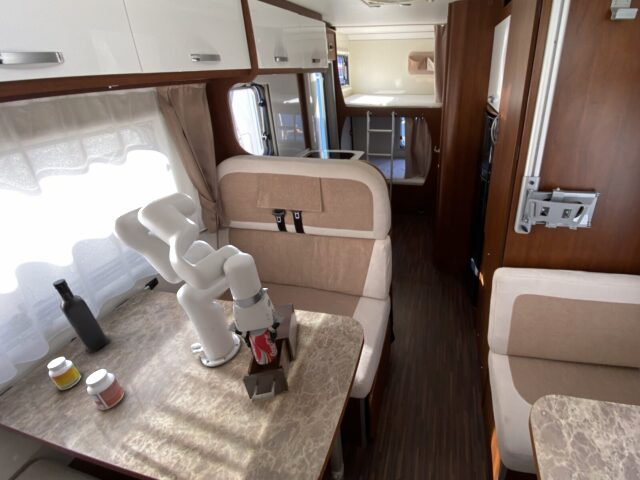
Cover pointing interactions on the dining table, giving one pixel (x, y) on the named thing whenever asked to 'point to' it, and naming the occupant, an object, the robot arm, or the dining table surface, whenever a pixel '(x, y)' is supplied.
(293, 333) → the cabinet
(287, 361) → the drawer
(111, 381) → the pill bottle
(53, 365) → the supplement bottle
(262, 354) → the beverage can
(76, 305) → the wine bottle
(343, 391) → the dining table surface
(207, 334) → the robot arm
